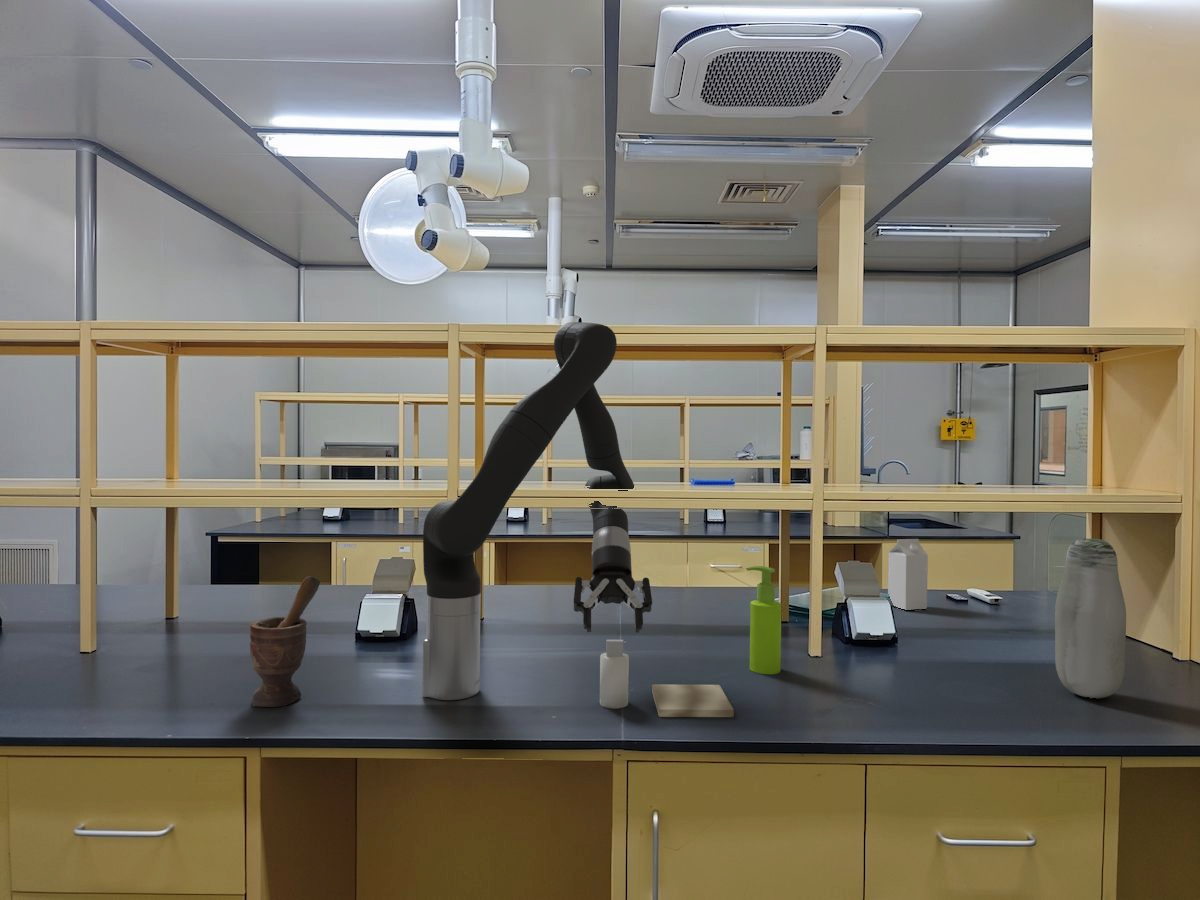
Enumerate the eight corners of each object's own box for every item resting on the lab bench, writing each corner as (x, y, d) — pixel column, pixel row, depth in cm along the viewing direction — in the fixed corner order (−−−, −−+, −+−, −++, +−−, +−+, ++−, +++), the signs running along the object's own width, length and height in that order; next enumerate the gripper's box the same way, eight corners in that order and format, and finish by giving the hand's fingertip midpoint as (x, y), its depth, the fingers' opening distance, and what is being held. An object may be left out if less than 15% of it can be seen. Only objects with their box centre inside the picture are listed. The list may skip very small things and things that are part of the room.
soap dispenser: (753, 662, 144) (754, 563, 144) (785, 669, 139) (786, 567, 139) (739, 668, 139) (740, 567, 139) (772, 676, 135) (773, 571, 135)
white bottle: (599, 708, 117) (600, 644, 117) (599, 698, 122) (600, 636, 122) (628, 708, 117) (629, 644, 117) (627, 698, 122) (628, 636, 122)
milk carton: (887, 606, 198) (888, 537, 198) (908, 604, 200) (909, 537, 200) (905, 611, 191) (906, 541, 191) (927, 610, 193) (928, 540, 193)
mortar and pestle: (281, 684, 127) (283, 572, 127) (325, 687, 125) (327, 574, 125) (237, 707, 116) (239, 584, 115) (285, 711, 114) (287, 587, 114)
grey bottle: (1111, 710, 120) (1114, 544, 119) (1045, 692, 128) (1047, 537, 128) (1133, 698, 125) (1135, 540, 125) (1068, 682, 134) (1070, 534, 134)
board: (659, 716, 114) (659, 709, 114) (651, 691, 126) (651, 684, 126) (733, 717, 114) (733, 709, 114) (719, 691, 126) (719, 684, 126)
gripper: (574, 543, 134) (573, 618, 123) (649, 544, 135) (655, 619, 123) (574, 566, 139) (573, 641, 128) (646, 567, 140) (651, 641, 128)
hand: (613, 630), depth 126 cm, fingers open, 8 cm apart
